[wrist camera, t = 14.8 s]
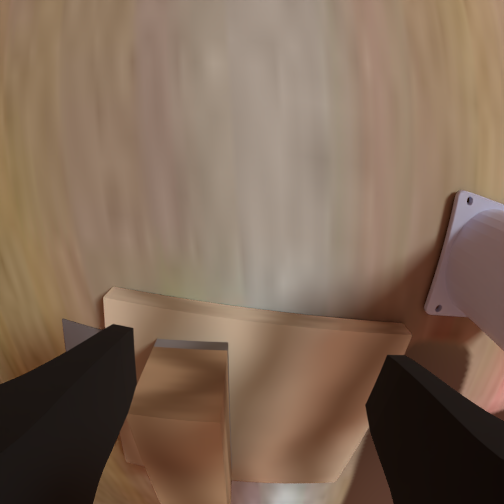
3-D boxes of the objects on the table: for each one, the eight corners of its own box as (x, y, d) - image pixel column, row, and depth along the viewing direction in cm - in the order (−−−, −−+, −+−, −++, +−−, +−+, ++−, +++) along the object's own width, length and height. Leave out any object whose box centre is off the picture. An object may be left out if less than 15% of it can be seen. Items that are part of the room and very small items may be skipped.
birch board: (402, 323, 19) (412, 335, 17) (332, 469, 24) (335, 481, 22) (113, 286, 18) (103, 297, 16) (130, 449, 23) (125, 461, 21)
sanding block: (228, 342, 17) (220, 422, 11) (232, 464, 21) (229, 528, 15) (157, 338, 17) (125, 413, 11) (180, 461, 21) (169, 523, 15)
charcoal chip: (117, 329, 19) (114, 333, 19) (119, 374, 21) (116, 379, 20) (66, 314, 19) (62, 319, 18) (71, 359, 20) (68, 364, 20)
